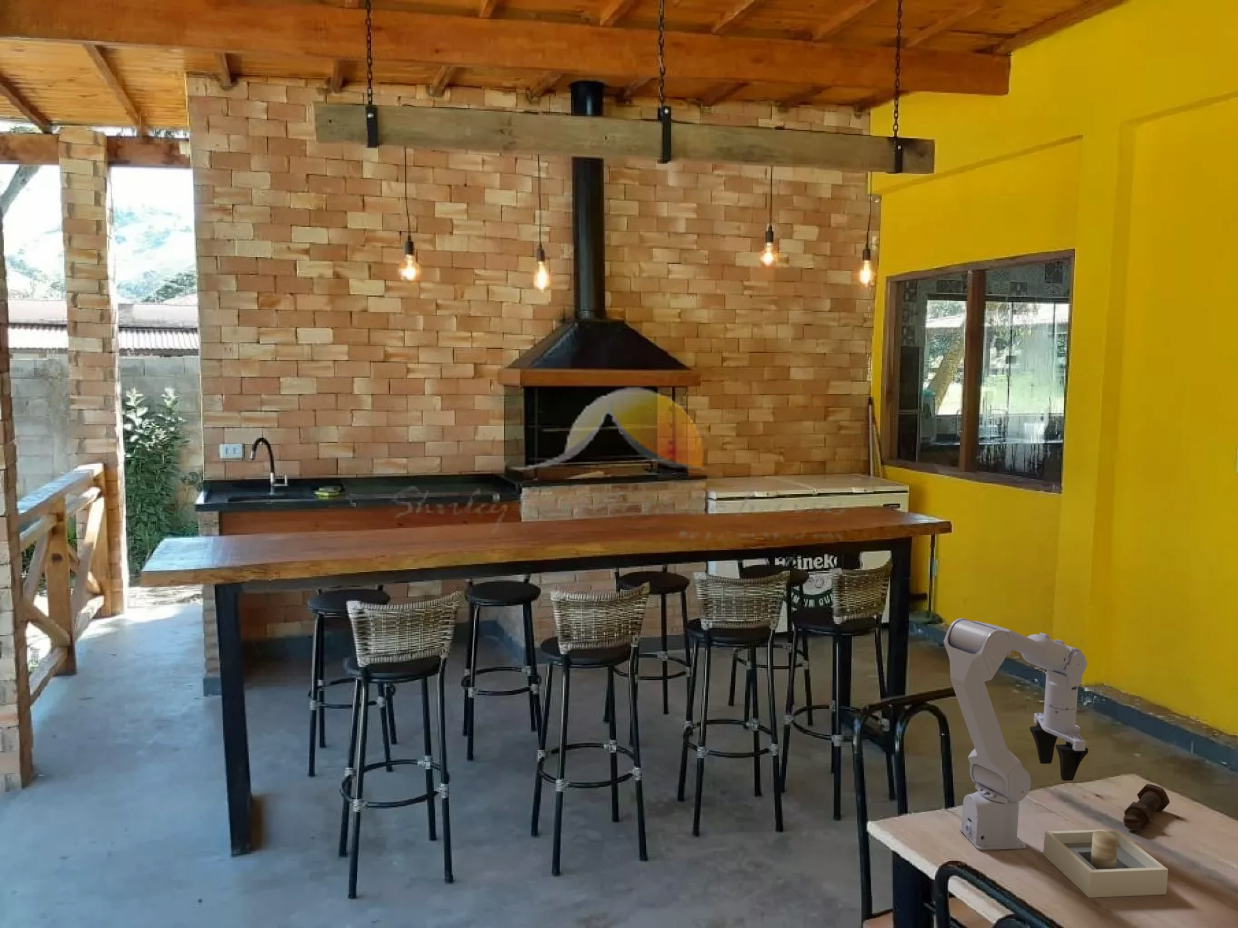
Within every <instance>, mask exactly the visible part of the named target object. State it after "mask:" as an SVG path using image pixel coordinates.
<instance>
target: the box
mask: <svg viewBox="0 0 1238 928" xmlns="http://www.w3.org/2000/svg"><path fill="white" fill-rule="evenodd" d="M1095 831H1104V832H1108V833H1111V834H1113V835H1115V836H1116V837H1117V838H1118V848H1117V861H1116V869H1099V870H1097V869H1096V868H1095V867H1094V866H1092V865H1091V850H1092V836H1093V832H1095ZM1042 855H1043V856H1044V857H1045V858H1046V859H1047V860H1048V861H1050V863H1052V865H1054V866H1055V867H1056V868H1057V869H1058V870H1059V871H1060V872H1061V873H1062V874H1063V875H1064V876H1065V877H1067V879H1068V880H1070V881H1071V883H1073V884H1074V885H1075V886H1076V887H1077V888H1078V889H1079V890H1080V891H1081V892H1082V893H1083V894H1085V895H1086V896H1087V897H1088V899H1089V898H1090V899H1091V898H1111V897H1112V898H1113V897H1114V898H1115V897H1130V896H1131V897H1136V896H1138V897H1139V896H1140V897H1141V896H1158V895H1159V896H1161V895H1164V896H1165V895H1166V894H1167V887H1168V876H1169V869H1168V868H1167V867H1166V866H1164V865H1163V864H1162V863H1161V862H1160V861H1158V860H1156V859H1155V858H1154V857H1153V856H1152V855H1150V854H1149V853H1148V852H1146V851H1145V850H1144V849H1142V848H1141V847H1140V846H1138V844H1136V843H1135V842H1133V841H1132V840H1131V839H1130V838H1129V837H1127V836H1126V835H1125V834H1123V833H1122V832H1121V831H1119V830H1118V829H1117V828H1110V829H1108V828H1107V829H1102V828H1101V829H1081V830H1080V829H1077V830H1076V829H1075V830H1073V829H1072V830H1049V831H1047V830H1046V831H1044V838H1043V853H1042Z"/></svg>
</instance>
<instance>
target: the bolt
mask: <svg viewBox="0 0 1238 928" xmlns="http://www.w3.org/2000/svg"><path fill="white" fill-rule="evenodd" d="M1136 796H1137V798H1138V801H1132V802H1131V804H1129V805H1128V807H1127V808H1126V809H1124V811H1123V813H1124V816H1123V819H1122V820H1123V821H1122V823H1123V825H1124V826H1125V827H1126V829H1128V830H1130V831H1133V832H1134V831H1135V832H1136V831H1139V830H1140V829H1146V827H1147V826H1148V825H1149V824H1150V823H1151V822H1153V819H1154V817H1153V814H1154V813H1155V812H1156V813H1160V814H1161V813H1162V812H1163V811H1164V810H1165V808H1166V807H1168V806H1169V805H1170V803H1171V802H1170V798H1169V796H1168V793H1167V792H1166V791H1165V790H1164V788H1163V787H1161V786H1158V785H1155V784H1151V783H1146V784H1145V785H1144V786H1143V787H1142V788H1141V789H1140V791H1138V793H1137V794H1136Z"/></svg>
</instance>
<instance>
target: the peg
mask: <svg viewBox="0 0 1238 928" xmlns="http://www.w3.org/2000/svg"><path fill="white" fill-rule="evenodd" d="M1117 848H1118V838H1117V837H1116V836H1115V835H1113V834H1111V833H1108V832H1104V831H1095V832H1093V836H1092V850H1091V865H1092V866H1094V867H1095V868H1096V869H1097V870H1099V869H1116V861H1117Z"/></svg>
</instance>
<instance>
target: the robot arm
mask: <svg viewBox="0 0 1238 928" xmlns="http://www.w3.org/2000/svg"><path fill="white" fill-rule="evenodd" d="M943 645H944V648H945V650H946V653H947V656H948V659H949V672H950V676H949V677H950V681H951V684H952V688H953V691H954V693H955V696H956V699H957V702H958V705H959V708H960V710H961V715H962V716H963V719H964V722H965V724H966V728H967V730H968V733H969V736H970V739H971V742H972V744H973V748H974V749H973V750H971V752H970V754H968V756H967V759H968V762H969V776H970V779H971V780H972V782H973V783H974V784H975V785H974V786H975V787H974V789H976V790H977V791H975V792H972V793H968V794H965V796H964V798H963V802H962V811H961V812H962V813H961V814H962V817H961V820H962V821H961V826H960V827H959V831H961V832H963V833H964V834H963V833H962V834H963V835H964V836H965V837H966V838H967V839H968V840H969V841H970V843H972V844H973V845H974V847H975V848H976V849H977V850H979V851H986V850H987V851H988V850H1014V849H1015V850H1017V849H1019V850H1020V849H1026V848H1027V845H1026V844H1025V843H1024V841H1022V839H1020V838H1019V837H1018V826H1019V824H1018V823H1019V810H1020V808H1019V807H1020V802H1022V801H1023V800H1024V799H1025V798H1026V797H1027V795H1028V794H1029V792H1030V789H1031V786H1032V781H1031V776H1030V773H1029V771H1028V770H1027V769H1025V768H1024V766H1023V764H1022V761H1021V760H1020V759H1019V758H1018V757H1017V756H1016V755H1015V754H1013V752H1012V751H1010V750H1009V749H1008V747H1007V744H1006V742H1005V739H1004V736H1003V733H1002V729H1001V727H1000V724H999V720H998V718H997V716H996V715H997V714H996V712H995V709H994V707H993V703H992V700H991V698H990V694H989V692H988V688H987V686H986V683H985V682H988V681H991V680H993V678H994V676H995V675H996V673H997V672H998V670H999V668H1000V667H1001V665H1002V664H1003V662H1004V661H1005V659H1006V657H1008V656H1010V655H1011V652H1012V651H1013V652H1017V653H1020V655H1021V656H1022V658H1023V659H1024V661H1025V662H1027V663H1028V664H1030V665H1033V666H1037V667H1039V668H1041V669H1043V670H1046V674H1045V675H1046V676H1045V690H1044V705H1043V706H1044V707H1043V712H1035V713H1033V714H1034V715H1033V716H1034V717H1033V723H1034V724H1036V725H1032V726H1030V727H1029V730H1030V733H1031V735H1032V737H1033V740H1034V743H1035V747H1036V751H1037V756H1038V761H1039V763H1040V764H1041V765H1051V764H1052V762H1053V758H1054V751H1055V748H1056V751H1057V754H1058V759H1059V769H1060V771H1059V773H1060V779H1061V780H1062V781H1065V782H1067V781H1074V779H1075V776H1076V774H1077V771H1078V768H1079V767H1080V764H1081V762H1082V761H1083V760H1084V758H1085V756H1087V755H1088V754H1089V748H1087V747H1086V742H1087V741H1086V740H1085V739H1083V737H1082V736H1081V734H1080V731H1081V727H1080V726H1078V725H1077V724H1076V723H1077V710H1078V709H1077V706H1078V695H1079V692H1078V691H1079V687H1080V686H1081V685H1082V684H1081V683H1082V681H1083V680H1082V679H1083V675H1084V673H1085V671H1086V669H1087V666H1088V664H1087V663H1088V661H1087V660H1086V655H1085V654H1084V653H1083V652H1082V651H1081V650H1080V649H1079V648H1078V647H1077V648H1076V647H1073V646H1069V645H1066V644H1065V642H1064V641H1063V640H1060V639H1051V635H1050V634H1047V633H1043V632H1039V634H1035V633H1033V634H1030V635H1028V636H1026V635H1023V634H1021V633H1018V632H1016V631H1013V630H1011V629H1008V628H1005V627H1002V626H999V625H996V624H992V623H986V622H981V621H979V620H978V621H977V620H970V621H969V619H967V618H964V617H963V618H962V617H960V618H959V617H958V618H957V619H955V620H954V621H952V623H950V625H949V627H948V629H947V631H946V634H945V637H944V639H943ZM1058 738H1060V739H1061V740H1062V741H1064V742H1065V744H1064V743H1063V744H1061V743H1060V744H1058V743H1057V744H1056V742H1057V740H1058Z"/></svg>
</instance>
